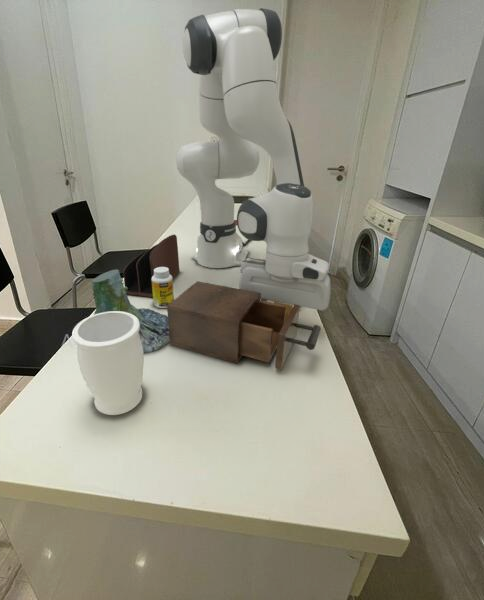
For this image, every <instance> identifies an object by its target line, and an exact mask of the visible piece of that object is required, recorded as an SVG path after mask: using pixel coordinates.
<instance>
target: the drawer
mask: <svg viewBox="0 0 484 600" xmlns="http://www.w3.org/2000/svg"><path fill="white" fill-rule="evenodd" d="M299 309H300V305H295V304H294V305H293V307H292V310H291V311H290V313H289V315H288V317H287V319H286V321H285V314H286V305H281V304H276V303H274V302H271V301H267V302H265V301H261V300H258V301H257V302H256V303H255V305H254V306H253V307H252V309H251V310H250V311H249V313H248V314H247V315H246V317H245V318H244V319H243V320H242V322H241V323H240V341H239V355H242V357H247V358H250V359H254V360H257V361H261V362H266V363H270V362H271V360H272V358H273V356H274V354H275V352H276V354H275V355H276V356H275V365H274V369H276V370H279V371H282V369H283V367H284V365H285V362H286V360H287V358H288V357H289V353H290V351H291V349H292V347H293V344H294V345H300V346H304V347H306V349H307V350H309V351H313V350H315V348H316V344H317V342H318V338H319V336H320V333H321V330H322V328H321V326H320V325H318V324H315V325H307V324H302V323H299V316H300V312H299ZM298 328H299V329H304V330H307V331H310V334H309V337H308V339H307V341H304V340H300V339H296V337H297V330H298Z"/></svg>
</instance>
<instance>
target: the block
mask: <svg viewBox="0 0 484 600" xmlns="http://www.w3.org/2000/svg"><path fill="white" fill-rule="evenodd" d="M273 303H276V304H281V305H286V314H285V321H286V319H287V317H288V315H289V313H290V311H291V310H292V308H293V306H294V305H291V304H285V303H280V302H275V301H273Z"/></svg>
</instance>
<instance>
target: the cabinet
mask: <svg viewBox="0 0 484 600" xmlns="http://www.w3.org/2000/svg"><path fill="white" fill-rule="evenodd" d="M258 300H260V301H261V293H259V292H254V291H248V290H243V289H239V288H237V287H231V286H226V285H220V284H215V283H209V282H204V281H200V280H199V281H198V280H197V281H196V282H194V283H193V284H192V285H191V286H189V288H187V289H185V291H183V292H182V293H181V294H180V295H178V296H177V297H176V298H174V301H172V302H171V303H170V304H169V305H167V308H166V309H167V317H168V324H169V337H170V342H169V345H170V346H173V347H177V348H180V349H184V350H187V351H191V352H195V353H197V354H202V355H204V356H208V357H212V358H216V359H219V360H223V361H226V362H229V363H233V364H238V363H239V362H240V360H241V358H242V357H243V355H239V341H240V323H241V322H242V320H243V319H244V318H245V317H246V315H247V314H248V313H249V311H250V310H251V309H252V307H253V306H254V305H255V303H256V302H257V301H258Z"/></svg>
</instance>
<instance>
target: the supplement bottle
mask: <svg viewBox="0 0 484 600" xmlns="http://www.w3.org/2000/svg"><path fill="white" fill-rule="evenodd" d="M151 280H152V291H153V297H152V302H153V305H154V307H156V308H159V309H167V305H169V304H170V303H171V302H172V301H174V300H175V298H174V281H173V280H174V279H172V276H171V275H170V274H169V269H168V268H167V267H158V268H155V269H154V275H153V276H152V279H151Z"/></svg>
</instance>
